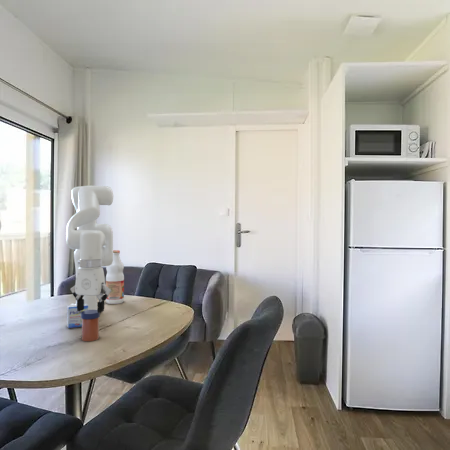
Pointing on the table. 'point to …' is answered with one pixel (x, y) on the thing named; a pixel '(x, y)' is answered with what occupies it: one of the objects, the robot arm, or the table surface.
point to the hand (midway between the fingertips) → (90, 310)
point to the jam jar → (90, 329)
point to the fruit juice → (115, 280)
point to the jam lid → (90, 314)
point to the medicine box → (74, 316)
